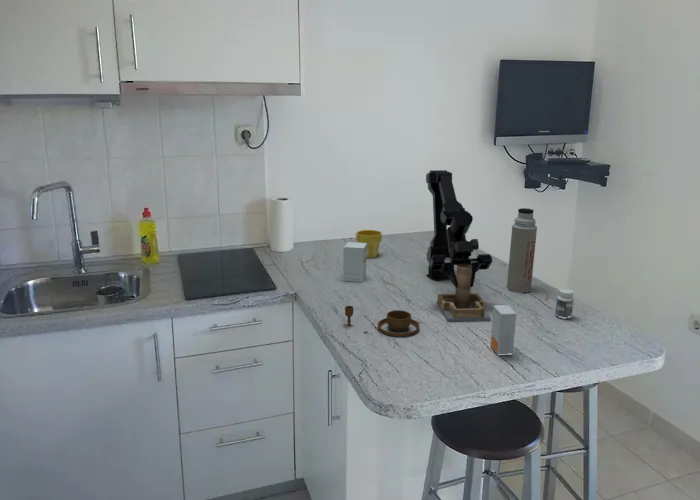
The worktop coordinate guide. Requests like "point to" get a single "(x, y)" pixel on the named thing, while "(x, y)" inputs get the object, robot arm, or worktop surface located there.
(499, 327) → the skincare box
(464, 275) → the walnut peg
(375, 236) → the plant pot
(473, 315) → the keyhole plate
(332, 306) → the worktop surface
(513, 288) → the thermos bottle
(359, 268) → the supplement box
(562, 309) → the pill bottle
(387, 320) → the place setting
